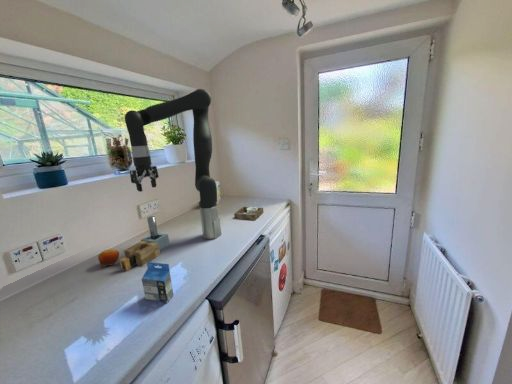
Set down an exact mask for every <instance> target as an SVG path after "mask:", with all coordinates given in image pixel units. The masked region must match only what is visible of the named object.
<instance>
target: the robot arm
mask: <svg viewBox="0 0 512 384" xmlns="http://www.w3.org/2000/svg"><path fill="white" fill-rule="evenodd" d="M211 103H212V96H211V94H210V93H209V91H207V90H206V89H203V88H197V89H195V90H194V91H192V92H190V93H188V94H186V95H183V96H181V97H178V98H174V99H171V100H167V101H163V102H160V103H156V104H153V105H152V104H151V105H149V106H147V107H146V108H144V109H141V110H137V111H136V110H128V111H127V112H125V114H124V122H125V126H126V130H127V132H128V136H129V143H130V146H131V148H130V149H131V155H132V161H133V166H134V167H135V169H130V170H129V175H130V176H129V177H130V182H131V184H135V186H136V190H137V191H138V192H143V185H142V181H143V180H144V178H147V177H148V178H149V179H150V184H151V188H156V187H157V181H156V180H157V179H159V173H158V167H157V166H156V165H152V164H153V163H152V159H151V157H152V156H151V153H150V148H149V145H148V144H149V143H148V140H147V135H146V133H145V128H144V127H145V126H146V125H150V124H152V123H156V122H160V121H163V120H166V119H169V118H172V117H175V116H176V115H179V114H182V113H183V112H187V111H191V110H192V117H193V128H192V129H193V131H192V133H193V138H192V139H193V140H192V141H193V142H192V143H193V151H194V153H193V154H194V164H195V165H194V166H195V175H194V187H195V189H196V190H197V192H199V202H198V207H199V215H200V222H201V232H202V238H204V239H206V240H212V239H215V240H216V239H217V238H218V237H219V236H221V235H222V226H221V218H219V214H218V213H219V212H218V206H217V205H218V204H217V187H216V182H217V181H215V180H214V178H212V177H211V175H210V162H211V158H212V154H213V140H212V139H213V138H212V133H211V127H210V121H209V111H210V109H209V108H210V105H211Z"/></svg>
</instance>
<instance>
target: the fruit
mask: <svg viewBox="0 0 512 384" xmlns="http://www.w3.org/2000/svg"><path fill="white" fill-rule="evenodd" d="M119 256H120V252H119V250H118V249H114V248H112V249H111V248H110V249H104V250H103V251H101V252H100V253H98V255H97V258H98V259H97V260H98V262H99V264H100V265H101V266H102V267H103V268H105V267H107V266H115V264H116V263H117V262H118V259H119Z"/></svg>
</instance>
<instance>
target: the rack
mask: <svg viewBox="0 0 512 384" xmlns="http://www.w3.org/2000/svg"><path fill="white" fill-rule="evenodd" d="M158 236H159V238H157V239H155V240H152V239H151V236H150V234H149V235H147V236H145V237H144V238H141V239H140V242H141V241H147V242H154V243H158V247H159V251H161V250H162V249H164V248H165V247H167V246H168V245H170V238H169V234H168V233H161V232H158Z"/></svg>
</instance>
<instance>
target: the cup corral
mask: <svg viewBox="0 0 512 384" xmlns="http://www.w3.org/2000/svg"><path fill="white" fill-rule="evenodd" d="M249 207H250V206H242V207H241V208H239V209H238V210H237V211H236V212H234V213H233V214H234V215H233V216H234V219H236V220H246V219H249V221H250V220H251V221H256V220H257V219H259V218H260V216H262V214H264V207H257V208H258V209H257V213H255V214H247V208H249ZM245 212H246V213H245Z"/></svg>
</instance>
